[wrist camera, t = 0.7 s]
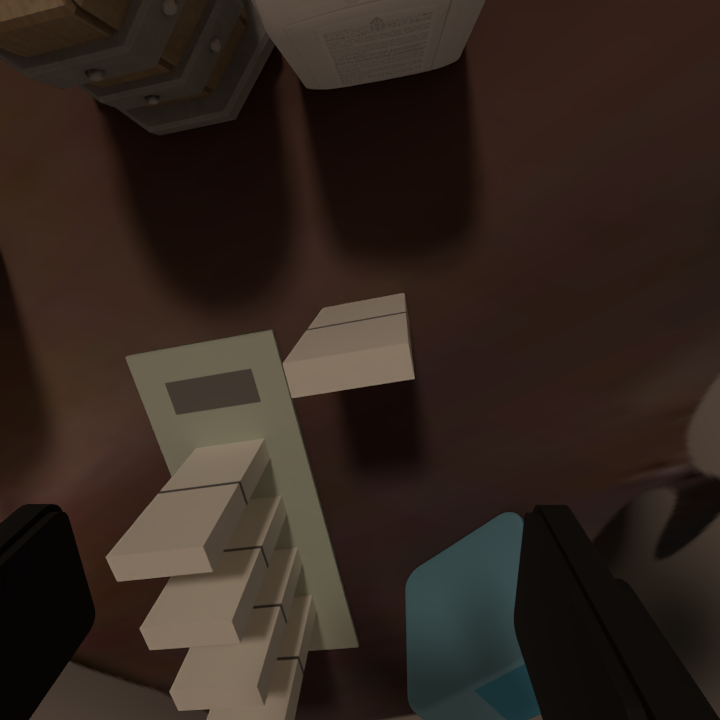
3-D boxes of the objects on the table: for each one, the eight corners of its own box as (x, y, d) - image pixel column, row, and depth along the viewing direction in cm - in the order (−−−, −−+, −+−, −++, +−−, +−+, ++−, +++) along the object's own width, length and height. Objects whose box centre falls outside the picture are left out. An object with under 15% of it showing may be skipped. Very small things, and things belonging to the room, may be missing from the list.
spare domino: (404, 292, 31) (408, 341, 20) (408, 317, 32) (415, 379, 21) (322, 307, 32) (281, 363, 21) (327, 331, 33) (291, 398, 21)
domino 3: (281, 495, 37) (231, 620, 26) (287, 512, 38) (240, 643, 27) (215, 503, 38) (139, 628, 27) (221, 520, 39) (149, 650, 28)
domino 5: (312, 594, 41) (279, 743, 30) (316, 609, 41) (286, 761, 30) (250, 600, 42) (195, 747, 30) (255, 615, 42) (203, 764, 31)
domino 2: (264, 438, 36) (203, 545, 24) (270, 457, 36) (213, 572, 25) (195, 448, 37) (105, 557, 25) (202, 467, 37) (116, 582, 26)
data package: (436, 604, 41) (451, 758, 29) (403, 574, 40) (406, 721, 28) (547, 538, 37) (612, 683, 26) (514, 503, 36) (566, 637, 25)
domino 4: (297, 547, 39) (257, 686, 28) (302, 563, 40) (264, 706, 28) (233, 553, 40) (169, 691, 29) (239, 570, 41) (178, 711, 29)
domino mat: (273, 329, 33) (271, 330, 33) (358, 643, 43) (358, 647, 43) (128, 355, 35) (125, 357, 34) (242, 651, 45) (241, 656, 44)
